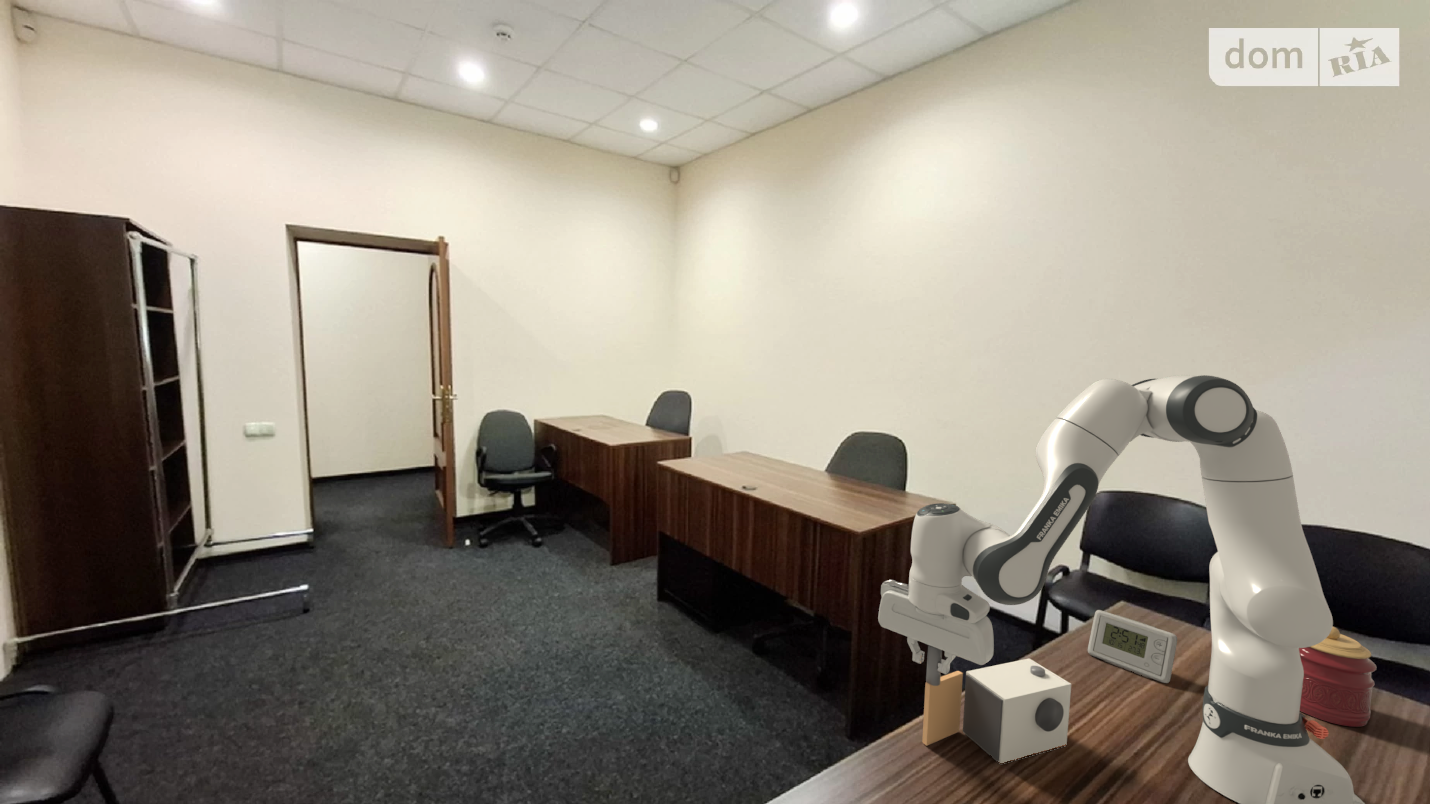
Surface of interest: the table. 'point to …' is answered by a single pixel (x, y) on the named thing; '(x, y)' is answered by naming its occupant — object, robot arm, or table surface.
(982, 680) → the camera case
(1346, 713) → the canister
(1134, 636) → the digital clock
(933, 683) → the wooden flat board
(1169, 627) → the table surface
